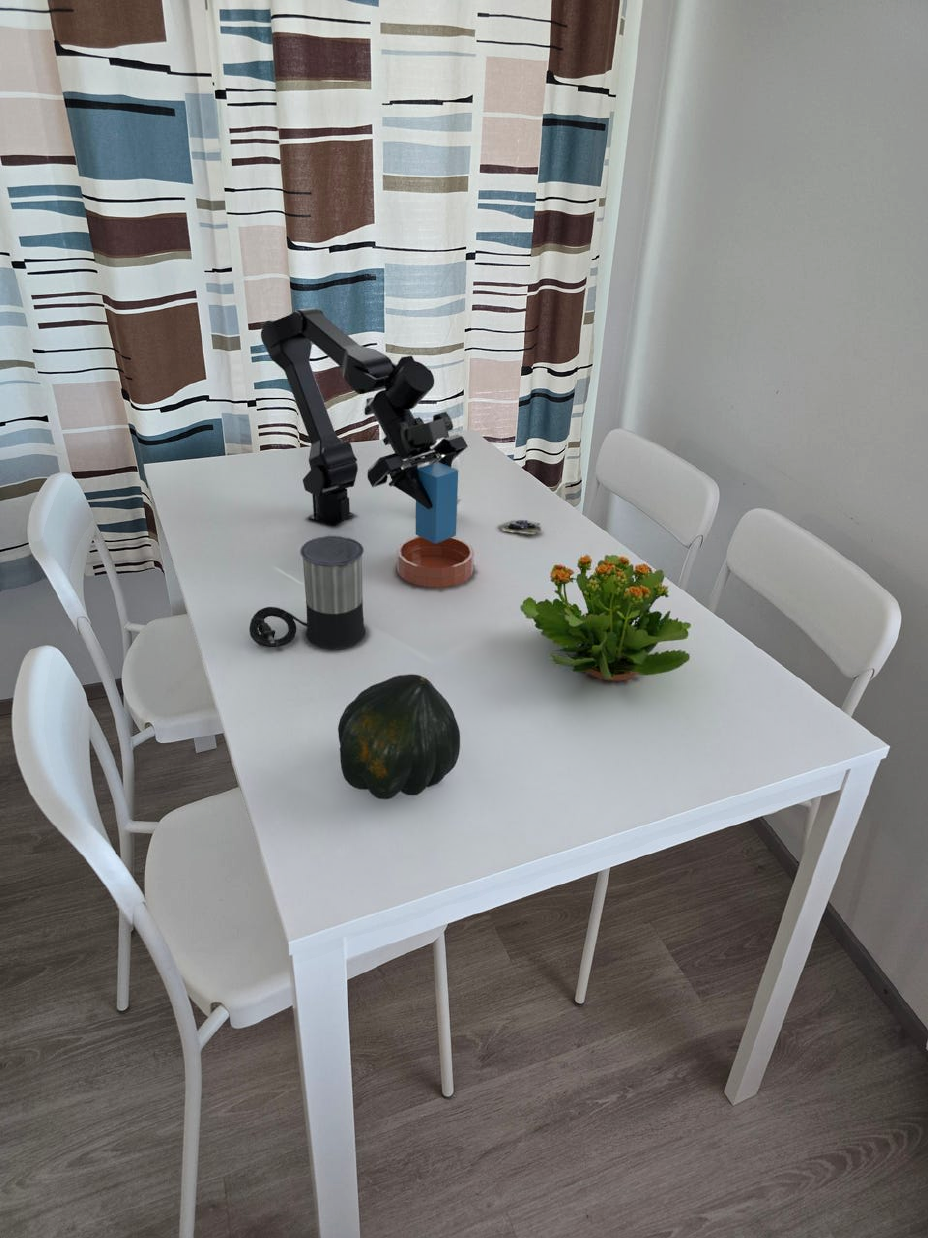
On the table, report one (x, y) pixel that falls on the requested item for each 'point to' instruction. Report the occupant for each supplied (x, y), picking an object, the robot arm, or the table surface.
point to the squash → (398, 737)
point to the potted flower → (610, 620)
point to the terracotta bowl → (435, 562)
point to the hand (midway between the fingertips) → (442, 503)
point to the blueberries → (522, 527)
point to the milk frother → (323, 597)
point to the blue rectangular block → (438, 503)
